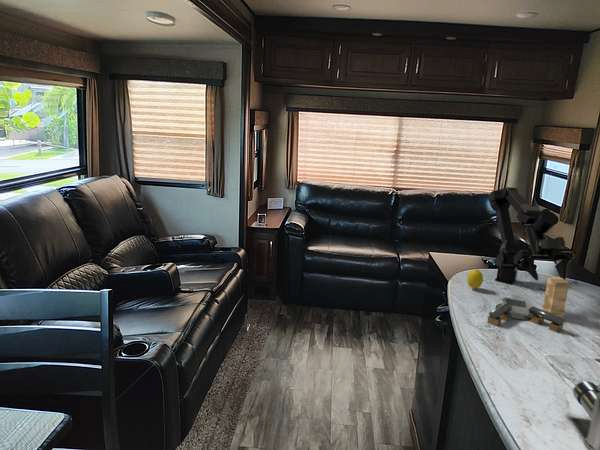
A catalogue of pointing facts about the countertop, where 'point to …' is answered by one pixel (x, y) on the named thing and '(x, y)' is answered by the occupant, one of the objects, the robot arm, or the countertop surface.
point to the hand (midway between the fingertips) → (550, 280)
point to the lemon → (475, 278)
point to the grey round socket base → (517, 308)
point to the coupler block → (556, 296)
